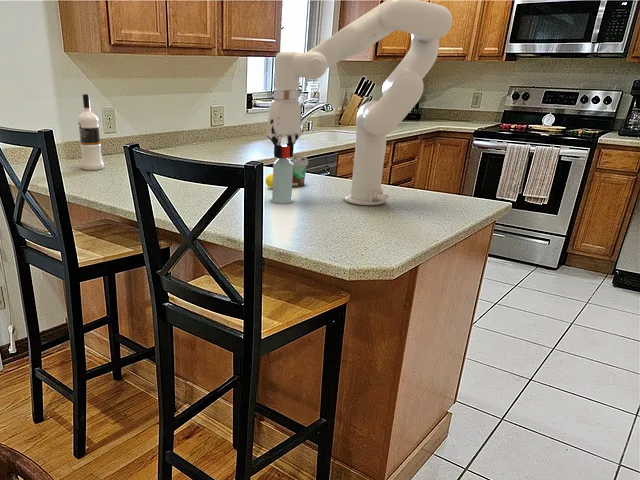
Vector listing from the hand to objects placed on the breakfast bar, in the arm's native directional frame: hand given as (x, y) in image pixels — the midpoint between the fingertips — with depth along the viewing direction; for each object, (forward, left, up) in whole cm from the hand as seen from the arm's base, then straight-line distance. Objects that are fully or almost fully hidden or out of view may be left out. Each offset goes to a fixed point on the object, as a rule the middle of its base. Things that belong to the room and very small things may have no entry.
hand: (283, 156), depth 169 cm
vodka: (+92, +27, -15) cm, 97 cm away
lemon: (+17, -11, -15) cm, 25 cm away
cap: (0, 0, 0) cm, 0 cm away
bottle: (0, 0, -15) cm, 15 cm away
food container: (+16, -23, -15) cm, 32 cm away
